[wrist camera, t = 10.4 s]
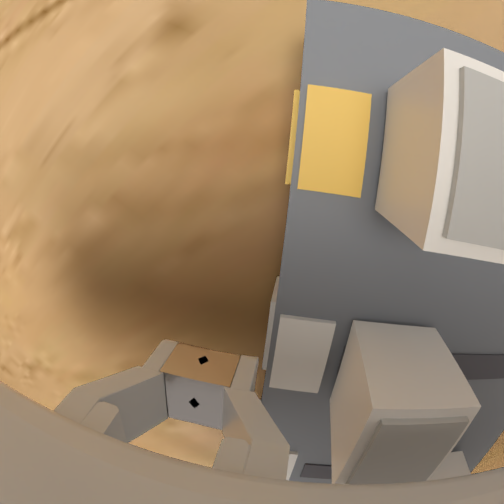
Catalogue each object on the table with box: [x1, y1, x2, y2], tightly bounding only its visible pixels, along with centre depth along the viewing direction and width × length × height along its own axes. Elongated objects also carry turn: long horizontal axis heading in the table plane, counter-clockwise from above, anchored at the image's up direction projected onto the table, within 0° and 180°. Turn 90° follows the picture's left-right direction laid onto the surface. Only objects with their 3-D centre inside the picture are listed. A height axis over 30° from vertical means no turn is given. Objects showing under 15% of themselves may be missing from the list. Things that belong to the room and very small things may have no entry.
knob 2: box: [330, 320, 481, 484], centre depth 8 cm, size 3×4×4 cm
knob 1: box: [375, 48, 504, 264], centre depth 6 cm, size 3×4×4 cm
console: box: [260, 0, 504, 484], centre depth 12 cm, size 13×23×4 cm, turn 175°
